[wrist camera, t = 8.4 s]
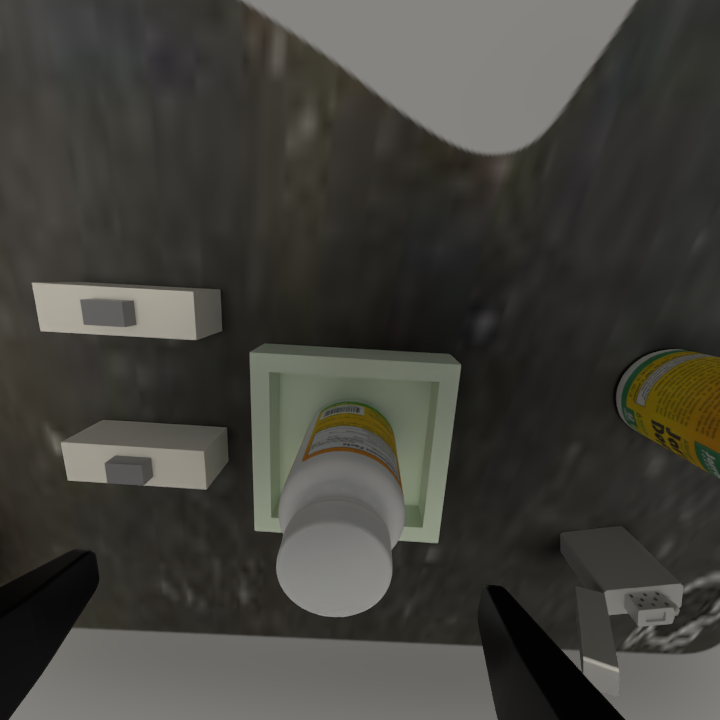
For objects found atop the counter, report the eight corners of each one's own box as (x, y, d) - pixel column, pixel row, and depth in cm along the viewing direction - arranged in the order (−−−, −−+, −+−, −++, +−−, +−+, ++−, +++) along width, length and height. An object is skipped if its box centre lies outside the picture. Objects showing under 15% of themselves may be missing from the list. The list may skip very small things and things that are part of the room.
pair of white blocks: (228, 461, 22) (199, 498, 18) (108, 453, 22) (54, 489, 18) (220, 289, 19) (184, 292, 15) (83, 282, 19) (14, 282, 15)
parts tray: (430, 514, 22) (438, 543, 20) (267, 503, 22) (254, 530, 20) (450, 354, 20) (461, 364, 17) (264, 343, 20) (249, 352, 17)
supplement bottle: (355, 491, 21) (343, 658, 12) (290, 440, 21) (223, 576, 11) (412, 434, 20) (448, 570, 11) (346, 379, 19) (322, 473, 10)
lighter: (624, 525, 22) (763, 660, 14) (623, 547, 22) (757, 690, 15) (515, 537, 22) (591, 674, 15) (516, 558, 23) (591, 702, 15)
